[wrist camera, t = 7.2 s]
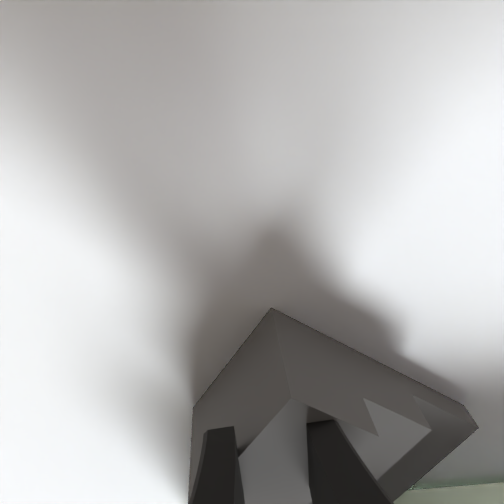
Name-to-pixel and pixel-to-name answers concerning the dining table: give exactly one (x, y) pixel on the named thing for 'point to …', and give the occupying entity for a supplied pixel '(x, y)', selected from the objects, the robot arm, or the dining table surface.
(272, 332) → the grey stepped block
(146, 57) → the dining table surface
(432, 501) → the door
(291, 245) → the dining table surface
